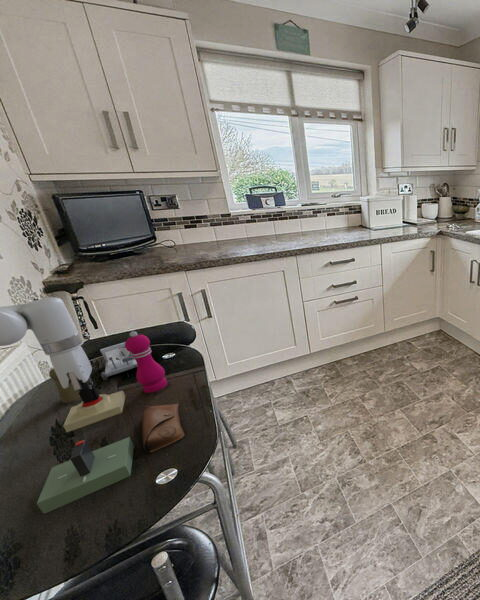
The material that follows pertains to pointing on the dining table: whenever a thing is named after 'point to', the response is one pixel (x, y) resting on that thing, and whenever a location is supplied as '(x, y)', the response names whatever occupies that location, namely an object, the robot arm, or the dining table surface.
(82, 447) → the handle knob
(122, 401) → the button block
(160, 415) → the sunglasses case
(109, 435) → the dining table surface
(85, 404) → the red button
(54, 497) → the panel
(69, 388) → the cork
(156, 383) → the pepper mill
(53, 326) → the robot arm
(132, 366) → the silver toaster
